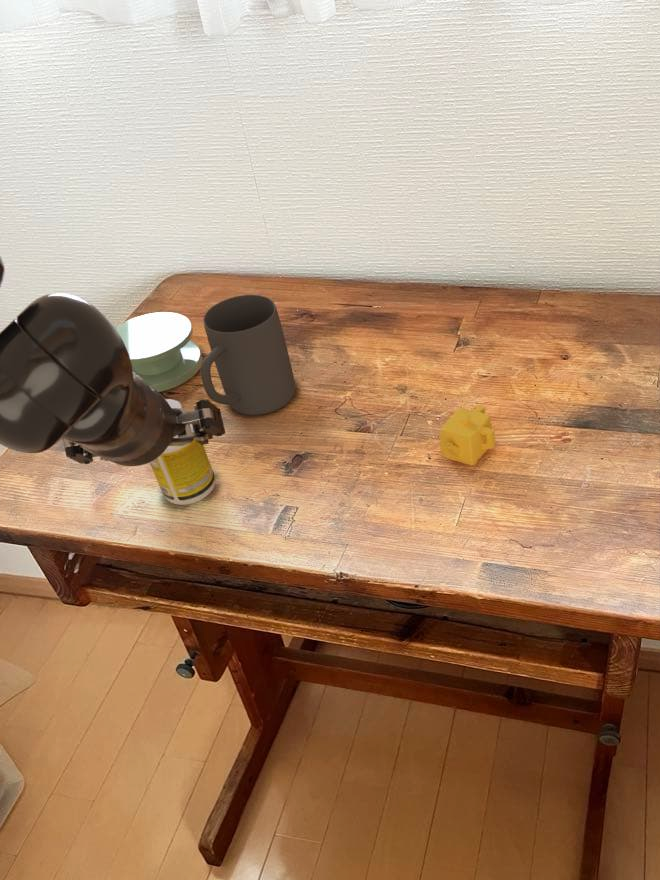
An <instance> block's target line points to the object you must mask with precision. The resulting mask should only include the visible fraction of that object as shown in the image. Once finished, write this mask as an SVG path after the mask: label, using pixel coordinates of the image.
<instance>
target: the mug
mask: <svg viewBox="0 0 660 880" xmlns="http://www.w3.org/2000/svg"><path fill="white" fill-rule="evenodd" d="M203 327H204V330H205V334H206V338H207V341H208V345H209V348H210V352H208V354H207V355H206V356H205V357H204V358H203V359H202V360H203V361H202V364H201V368H200V378H201V382H202V387H203V390H204V391H205V393H206V395H207V397H208V398H209V399H210V400H211V401H212V402H214V403H217V404H219V405H226V406H230V407H231V409H233V410H234V411H235V412H237V413H239V414H242V415H247V416H259V415H265V414H270V413H273V412H275V411H277V410H279V409H282V408H283V407H285V406H287V404H289V402H290V401H291V400H292V399H293V398H294V396H295V393H296V382H295V377H294V376H295V375H294V372H293V368H292V367H293V366H292V363H291V359H290V354H289V350H288V346H287V343H286V338H285V335H284V331H283V326H282V323H281V318H280V316H279V312H278V308H277V306H276V304H275V302H274V301H273V300H272V299H270V297H267V296H264V295H258V294H244V295H238V296H233V297H229V298H226V299H224V300H222V301H219V302H218V303H216V304H214V305H213V306H211V307H210V308H208V310H207V311H206V312H205V314H204V316H203ZM213 364H215V367H216V371H217V374H218V376H219V380H220V383H221V386H222V389H223V392H224V394H221V393H219V392H218V391H217V390H216V389H215V386H214V383H213V380H212V376H211V369H212V365H213Z"/></svg>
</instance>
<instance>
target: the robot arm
mask: <svg viewBox="0 0 660 880" xmlns="http://www.w3.org/2000/svg"><path fill="white" fill-rule="evenodd" d="M5 274H6V268H5V263H4V261H3V259H2V257H1V256H0V288H1V287H2V284H3V283H4V279H5ZM165 399H166V398H165V397H164V396H163V395H162V394H161V393H160V392H158V391H156V390H155V389H154V388H153V387H152V386H150V385H149V384H148V383H147V382H146V381H144V380H143V379H142V378H141V377H140V376H138V375H137V374H135V373H134V372H133V370H132V364H131V360H130V356H129V353H128V351H127V348H126V346H125V344H124V342H123V340H122V338H121V336H120V335H119V333H118V331H117V330H116V326H115V325H114V324H113V323H112V321H111V320H110V319H109V318H108V317H107V316H106V314H104V313H103V311H101V310H100V309H99V308H98V307H96V306H95V305H94V304H92V303H91V302H90V301H88V300H86V299H84V298H83V297H80V296H78V295H75V294H70V293H67V292H54V293H48V294H44V295H42V296H40V297H38V298H36V299H34V300H33V301H31V303H29V304H28V305H27V306H26V307H25V308H24V309H23V310H22V311H21V312H20V313H19V314H18V315H16V318H14V319H12V321H10V322H9V324H8V325H6V327H4V328H3V329H2V330H1V331H0V445H1V446H3V447H5V448H7V449H9V450H11V451H12V450H13V451H16V452H19V453H26V454H38V453H43V452H46V451H48V450H50V449H51V448H52V447H54V446H55V445H56V444H58V442H60V441H61V440H62V443H63V447H64V452H65V456H66V458H68V459H70V460H71V461H74V462H77V463H79V464H81V465H89V464H91V463H94V458H98V457H99V460H100V461H104V462H111V463H114V464H116V465H119V466H123V467H138V466H139V467H140V466H144V465H147V464H150V463H149V462H151V461H153V460H155V459H156V458H158V457H159V456H160V455H161V454H162V453H163V452H164V451H165V450H166V449H167V447H168V446H184V445H186V444H189V443H192V442H193V441H197V442H198V443H200V444H201V445H203V446H205V445H209V440H213V438H214V436H215V437H221V436H223V435H225V434H226V430H225V426H224V425H225V424H224V421H223V416H222V411H221V408H219V407H218V406H216V405H215V404H214V403H212V402H211V401H210V400H209V399H199V400H198V401H195V405H194V406H193V410H192V411H188V410H187V409H186V408H183V407H182V408H171V407H170V405H169V404H168V402H167V401H166V400H165ZM190 424H192V426H193V430H194V433H193V432H192V431H191V427H190ZM177 435H178V438H173V437H175V436H177Z"/></svg>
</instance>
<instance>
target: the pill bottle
mask: <svg viewBox="0 0 660 880" xmlns="http://www.w3.org/2000/svg"><path fill="white" fill-rule="evenodd" d="M165 400H166V401H167V402H168V404H169V405H170V407H171V408H183V406H182V403H180V401H178V400H176V399H170V398H165ZM190 427H191V431H192V432H193V433H194V430H193V426H192V424H190ZM173 438H178V435H177V436H175V437H173ZM148 464H149V466H150V468H151V469H152V472H153V473H154V476H155V479H156V481H157V483H158V486H159V488H160V490H161V492H162V494H163V497H164V498H165V500H167V501H168V502H170V503H171V504H175V505H178V506H179V505H181V506H184V505H192V504H195V503H197V502H200V501H201V500H203V499H205V498H206V497H208V496H209V495H210V494H211V492H212V491H213V490H214V489H215V485H216V476H215V472H214V471H213V467H212V465H211V462H210V460H209V457H208V454H207V450H206V448H205V445H201V444H200V443H198V442H197V441H193V442H192V443H189V444H186V445H184V446H168V447H167V449H166V450H165V451H164V452H163V453H162V454H161V455H160V456H159V457H158V458H156V459H155V460H153V461H151V462H149V463H148Z"/></svg>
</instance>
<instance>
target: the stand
mask: <svg viewBox="0 0 660 880" xmlns="http://www.w3.org/2000/svg"><path fill="white" fill-rule="evenodd" d="M115 328H116V330H117V331H118V333H119V335H120V336H121V338H122V340H123V342H124V344H125V346H126V348H127V351H128V353H129V356H130V360H131V364H132V370H133V372H134V373H135V374H137V375H138V376H140V377H141V378H142V379H143V380H144V381H146V382H147V383H148V384H149V385H150V386H152V387H153V388H154V389H155V390H156V391H158V392H159V393H160V392H165V391H168V390H172V389H174V388H177V387H178V386H181V385H183V384H185V383H186V382H187V381H189V380H191V379H193V377H194V376H195V375H196V374H197V373H198V372H200V370H201V364H202V361H203V360H204V359H203V355H202V352H201V349H200V347H199V346H198V345H197V344H196V343H195V342H194V341H191V339H192V336H193V333H194V329H193V328H194V327H193V325H192V322H191V321H190V319H189V318H188V317H187V316H185V315H183V314H180V313H178V312H171V311H158V312H150V313H145V314H142V315H138V316H135V317H132V318H129V319H128V320H125V321H124V322H122V323H120V324H118V325H117V326H115Z"/></svg>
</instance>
